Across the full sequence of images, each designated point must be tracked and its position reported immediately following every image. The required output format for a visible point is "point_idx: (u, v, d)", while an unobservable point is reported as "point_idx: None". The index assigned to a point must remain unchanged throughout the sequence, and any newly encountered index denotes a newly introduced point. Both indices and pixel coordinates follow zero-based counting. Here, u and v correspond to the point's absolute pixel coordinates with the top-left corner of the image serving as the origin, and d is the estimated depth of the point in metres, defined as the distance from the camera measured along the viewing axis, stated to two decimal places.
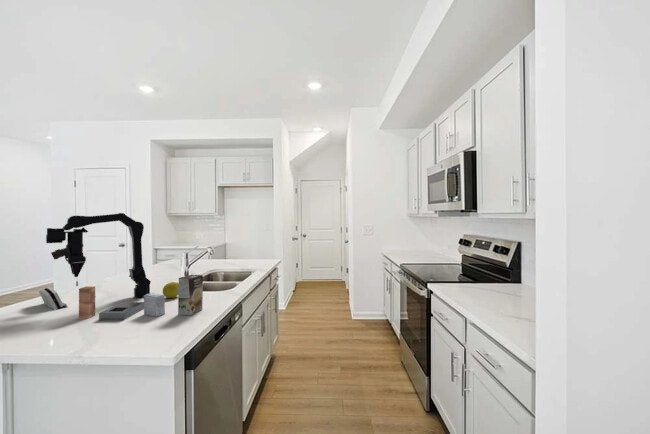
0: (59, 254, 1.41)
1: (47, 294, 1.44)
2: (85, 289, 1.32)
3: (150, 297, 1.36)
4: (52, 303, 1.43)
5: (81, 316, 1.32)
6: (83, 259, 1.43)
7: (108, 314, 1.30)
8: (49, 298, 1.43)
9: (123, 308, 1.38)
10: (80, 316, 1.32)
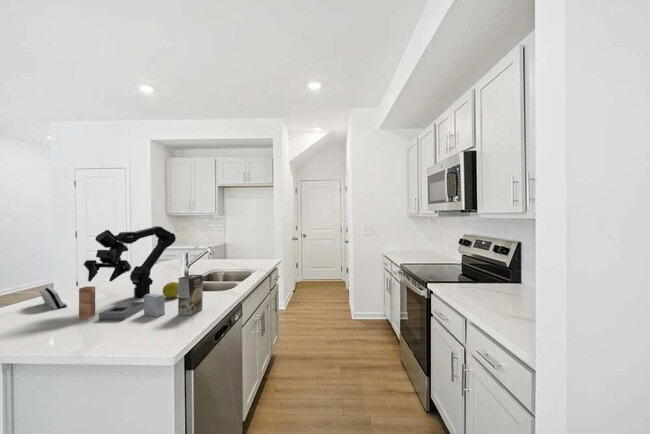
0: (113, 254, 1.46)
1: (47, 294, 1.44)
2: (85, 289, 1.32)
3: (150, 297, 1.36)
4: (52, 303, 1.44)
5: (81, 316, 1.32)
6: (130, 268, 1.50)
7: (108, 314, 1.30)
8: (49, 298, 1.43)
9: (123, 308, 1.38)
10: (80, 316, 1.32)
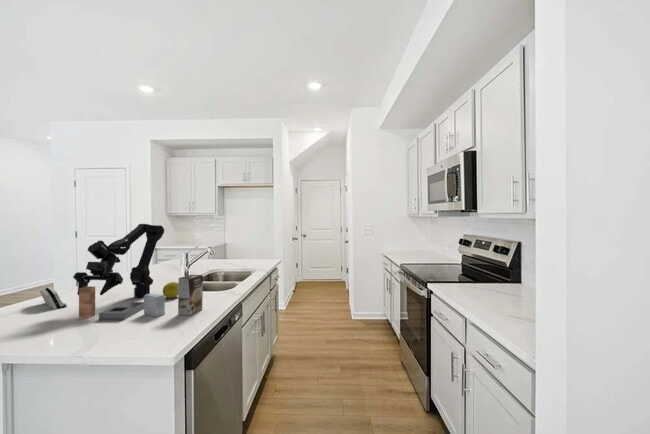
0: (105, 266, 1.39)
1: (47, 294, 1.44)
2: (85, 289, 1.32)
3: (150, 297, 1.36)
4: (52, 303, 1.44)
5: (81, 316, 1.32)
6: (122, 281, 1.44)
7: (108, 314, 1.30)
8: (49, 298, 1.43)
9: (123, 308, 1.38)
10: (80, 316, 1.32)
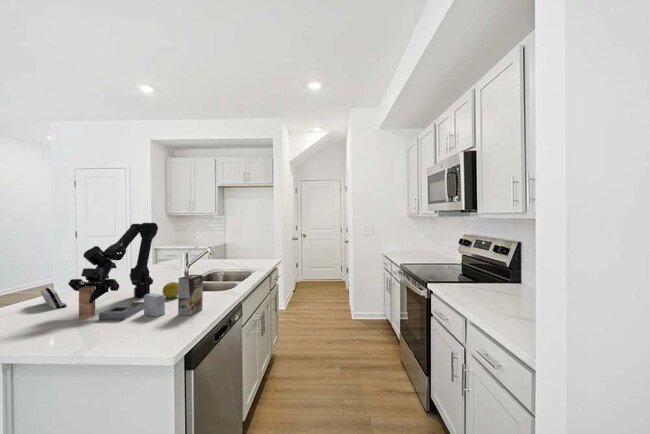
0: (100, 272, 1.36)
1: (47, 294, 1.44)
2: (85, 289, 1.32)
3: (150, 297, 1.36)
4: (51, 303, 1.44)
5: (81, 316, 1.32)
6: (118, 287, 1.41)
7: (108, 314, 1.30)
8: (48, 298, 1.43)
9: (123, 308, 1.38)
10: (80, 316, 1.32)
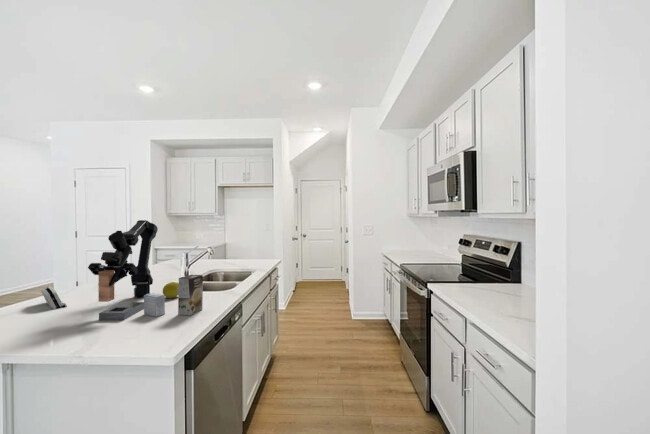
0: (119, 256, 1.37)
1: (47, 293, 1.44)
2: (104, 272, 1.33)
3: (150, 297, 1.36)
4: (51, 302, 1.44)
5: (101, 299, 1.33)
6: (136, 272, 1.41)
7: (108, 314, 1.30)
8: (48, 297, 1.44)
9: (123, 308, 1.38)
10: (100, 299, 1.33)
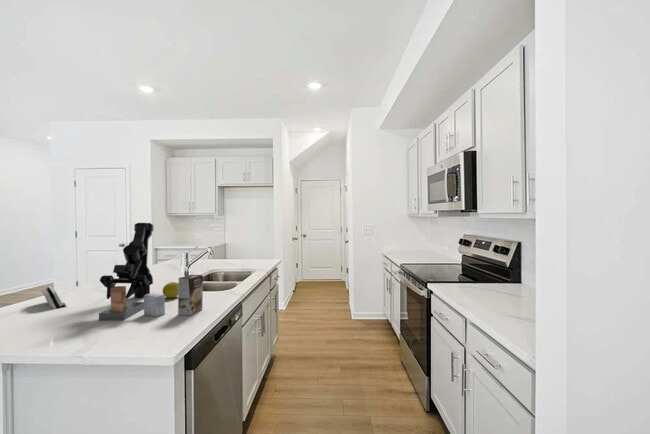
0: (131, 269, 1.37)
1: (46, 293, 1.45)
2: (117, 289, 1.33)
3: (150, 297, 1.36)
4: (51, 302, 1.45)
5: None
6: (148, 284, 1.42)
7: (108, 314, 1.30)
8: (48, 297, 1.44)
9: None
10: None
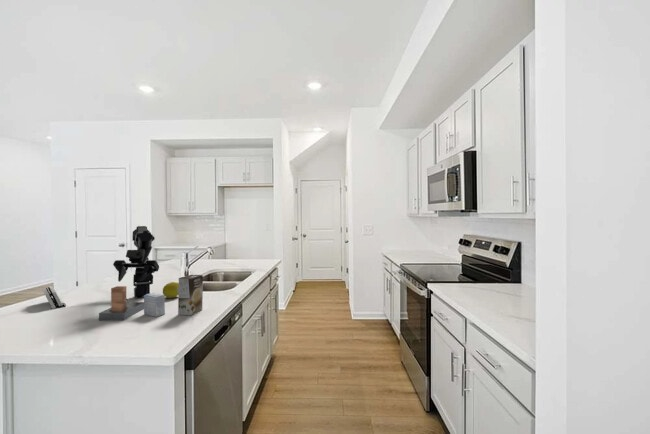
0: (143, 254, 1.47)
1: (46, 293, 1.45)
2: (117, 289, 1.33)
3: (150, 297, 1.36)
4: (50, 302, 1.45)
5: None
6: (158, 268, 1.51)
7: (108, 314, 1.30)
8: (48, 297, 1.45)
9: None
10: None
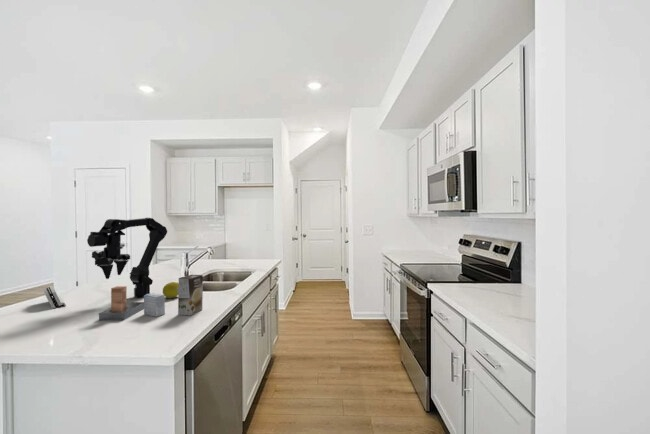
0: (95, 256, 1.49)
1: (46, 293, 1.46)
2: (117, 289, 1.33)
3: (150, 297, 1.36)
4: (50, 302, 1.45)
5: None
6: (106, 262, 1.45)
7: (108, 314, 1.30)
8: (47, 297, 1.45)
9: None
10: None
